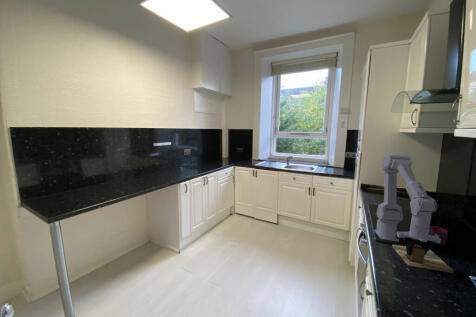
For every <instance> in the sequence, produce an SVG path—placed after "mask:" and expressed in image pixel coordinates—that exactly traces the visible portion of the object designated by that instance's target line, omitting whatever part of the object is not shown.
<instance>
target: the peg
mask: <svg viewBox="0 0 476 317" xmlns="http://www.w3.org/2000/svg"><path fill="white" fill-rule="evenodd" d="M424 254H425V250H424V249H423V248H422V247H421V246H420V244H414V246H413V249H412V254H411V255H408V254H407V255H406V256H407V258H408V259H409V260H410V261H411V262H417V263H423V260H424Z"/></svg>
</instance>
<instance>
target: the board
mask: <svg viewBox="0 0 476 317" xmlns="http://www.w3.org/2000/svg"><path fill="white" fill-rule="evenodd" d="M391 248H393V250H394V251H395V252H396V253H397V254H398V255H399V257H400V258H401V259H402V260H403V262H405V263H406V265H408V266H410V267H415V268H421V269H427V270H431V271H432V270H433V271H439V272H444V273H449V274H450V273H451V274H453V273H454V269H453V268H452V267H451V266H449V265H448V264H447V263H446V262H445V261H443V260H442V259H441V257H438V255H436V254H435V253H434V252H433V251H432V250H431V249H430V250H429V251H428V252H427V253H426V255H425V256H424V260H423V263H417V262H411V261H410V260H409V258H408V257H407V256H406V255H407V251H406V246H404V245H397V244H392V246H391Z"/></svg>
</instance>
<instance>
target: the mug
mask: <svg viewBox="0 0 476 317" xmlns="http://www.w3.org/2000/svg"><path fill="white" fill-rule="evenodd" d="M448 233H449V232H448V230H447V229H445V228H442V227H440V226H439V225H438V226H437V225H435V226H433V225H430V226H429V232H428V235H431V236H436V237H439V238H440V239H441V241H440V243H436V242H432V243H433V244H434V245H435V244H436V245H440V246H444V245H446V244H447V240H448Z"/></svg>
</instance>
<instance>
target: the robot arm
mask: <svg viewBox="0 0 476 317" xmlns="http://www.w3.org/2000/svg"><path fill="white" fill-rule="evenodd" d="M412 163H413V162H412V158H411V156H410V155H402V154H401V155H395V154H394V155H393V154H386V155H385V156H384V157H383V158H382V171H383V172H384V173H383V174H384V175H383V177H384V178H383V179H384V180H383V184H384V186H383V190H384V191H383V192H384V194H383V202H381V203H380V204H378V205H377V209H376V217H377V218H378V219H377V221H376V228H375V229H374V230H373V231H374V232H375V234H376V235H377V236H378V237H379V238H380V239H381V240H383V241H384V240H385V241H392V242H400V241H399V239H401V238H402V240H403V242H404V245H405V246H406V251H407V254H408V255H411V254H412V249H413V246H414V244H415V243H416V242H415V241H413V240H419V245H420V246H421V247H422V248H423V249H424V250H425V254H424V256H425V255H426V253H427V252H428V251H429V250H431V249H432V248H434V246H435V243H432V242H436V243H440V241H441V239H440V238H439V237H436V236H431V235H428V232H429V226H431V219H432V213H435V212H436V211H437V209H438V204H437V202H436V200H435V199H434V198H432V197H431V196H430V195H428V193H427V192H426V190H425V188H424V186H423V185H422V183H421V182H419V181H417V179H416V177H415V174H414V172H413V170H412V168H411V167H412ZM398 173H400V175H401V176H402V178H403V180H404V182H405V183H406V185H405V186H404V187H405V189H406V192H407V194H408V196H409V199H410V202H409V205H410V206H409V207H410V213H411V221H410V226H409V231H398V230H397V229H398V228H397V227H398V224H400V222H402V221H403V218H404V215H403V214H404V213H403V210H402V207H401V206H400V205H399V204H397V195H398V194H397V189H398V188H397V184H398V182H397V181H398V178H397V177H398ZM397 237H398V238H397ZM415 245H416V244H415Z"/></svg>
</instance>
